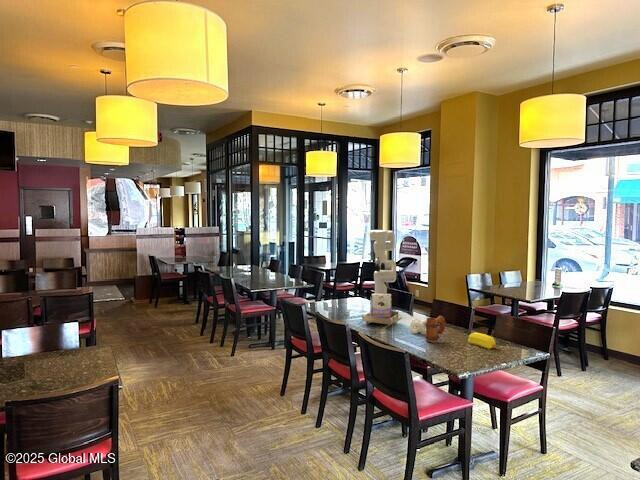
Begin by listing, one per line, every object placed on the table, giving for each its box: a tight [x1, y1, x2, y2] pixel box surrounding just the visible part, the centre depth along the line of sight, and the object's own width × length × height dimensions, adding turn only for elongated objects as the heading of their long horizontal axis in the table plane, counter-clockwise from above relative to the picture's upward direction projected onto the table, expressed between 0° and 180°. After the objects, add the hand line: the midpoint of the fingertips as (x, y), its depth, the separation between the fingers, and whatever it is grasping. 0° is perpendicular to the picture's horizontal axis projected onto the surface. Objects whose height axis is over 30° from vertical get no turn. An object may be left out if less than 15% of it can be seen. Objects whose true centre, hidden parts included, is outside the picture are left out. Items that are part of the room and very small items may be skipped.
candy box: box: [371, 293, 392, 318], centre depth 308 cm, size 14×6×16 cm, turn 80°
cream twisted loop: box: [408, 318, 427, 335], centre depth 283 cm, size 11×12×9 cm
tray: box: [361, 307, 399, 326], centre depth 307 cm, size 17×20×7 cm
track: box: [363, 316, 403, 330], centre depth 312 cm, size 34×16×1 cm, turn 151°
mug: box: [424, 315, 446, 344], centre depth 265 cm, size 15×8×15 cm, turn 117°
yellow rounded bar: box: [467, 332, 497, 350], centre depth 258 cm, size 18×7×8 cm
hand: (380, 270), depth 325 cm, fingers open, 9 cm apart
